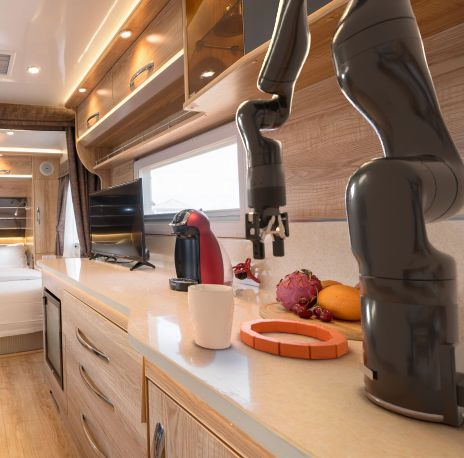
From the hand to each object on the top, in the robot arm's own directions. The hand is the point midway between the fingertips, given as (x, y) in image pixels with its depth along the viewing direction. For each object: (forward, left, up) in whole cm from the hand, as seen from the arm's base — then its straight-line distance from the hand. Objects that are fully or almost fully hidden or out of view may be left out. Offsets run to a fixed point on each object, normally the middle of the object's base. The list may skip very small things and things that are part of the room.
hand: (269, 258), depth 75 cm
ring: (-5, +3, -17) cm, 18 cm away
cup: (+4, +16, -17) cm, 24 cm away
